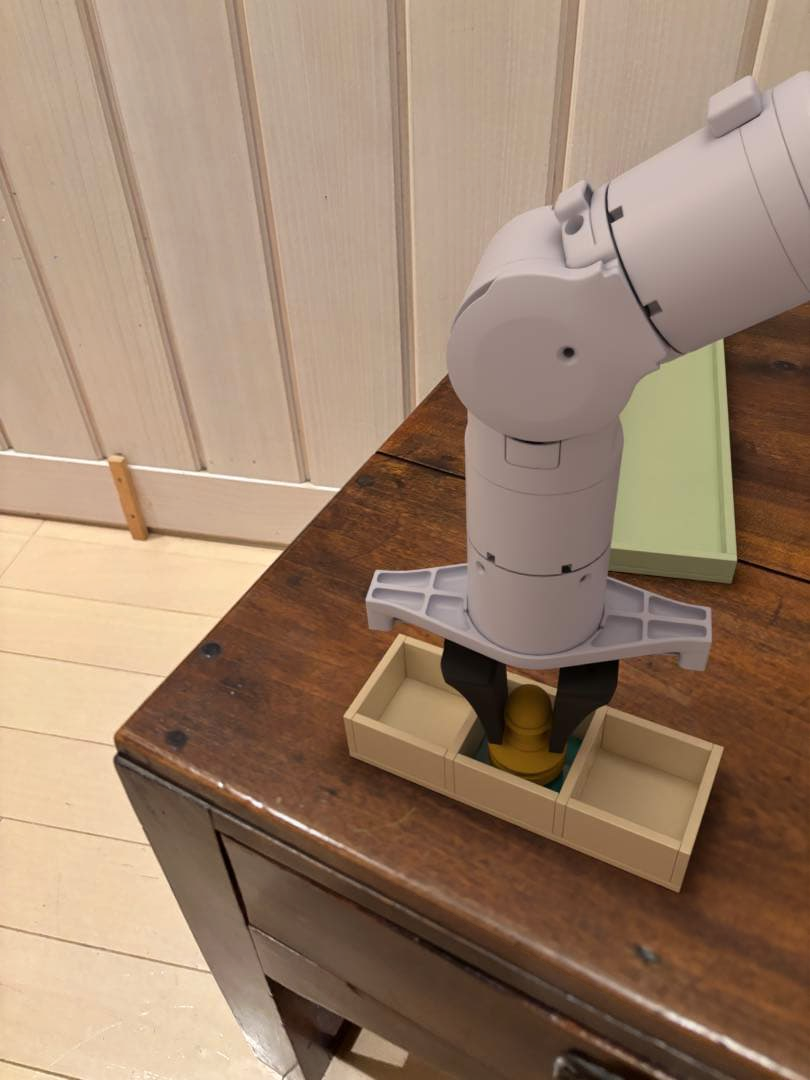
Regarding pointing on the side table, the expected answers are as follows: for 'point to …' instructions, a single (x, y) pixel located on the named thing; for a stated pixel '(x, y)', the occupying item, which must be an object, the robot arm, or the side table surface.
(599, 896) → the side table surface
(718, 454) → the tray
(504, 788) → the three-compartment organizer
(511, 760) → the chess piece
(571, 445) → the robot arm
